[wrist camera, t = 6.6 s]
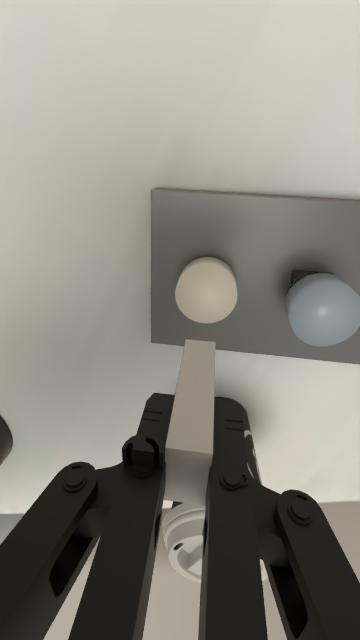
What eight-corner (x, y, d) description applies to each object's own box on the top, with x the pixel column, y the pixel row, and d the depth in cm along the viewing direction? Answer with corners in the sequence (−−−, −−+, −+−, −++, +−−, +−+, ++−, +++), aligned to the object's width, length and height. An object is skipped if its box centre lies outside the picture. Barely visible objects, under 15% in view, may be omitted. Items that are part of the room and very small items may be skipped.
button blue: (275, 316, 26) (284, 342, 22) (286, 262, 24) (299, 281, 20) (332, 321, 26) (351, 349, 22) (350, 267, 23) (374, 288, 20)
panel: (155, 332, 32) (151, 342, 30) (156, 188, 25) (151, 190, 23) (427, 360, 29) (440, 372, 28) (507, 209, 23) (531, 213, 21)
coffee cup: (229, 373, 33) (234, 514, 20) (276, 426, 36) (308, 580, 23) (164, 408, 37) (132, 547, 24) (212, 454, 40) (207, 601, 26)
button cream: (180, 299, 28) (173, 320, 25) (182, 248, 26) (176, 263, 22) (231, 303, 28) (233, 326, 24) (238, 252, 26) (241, 268, 22)
